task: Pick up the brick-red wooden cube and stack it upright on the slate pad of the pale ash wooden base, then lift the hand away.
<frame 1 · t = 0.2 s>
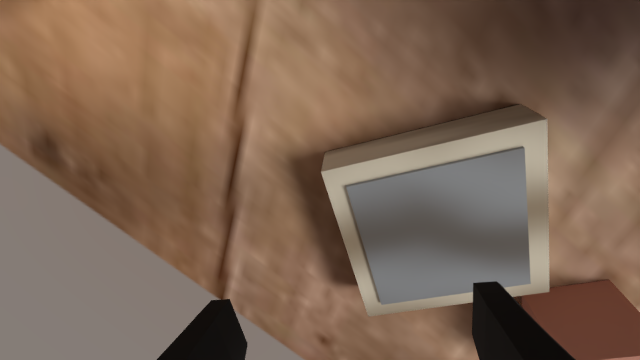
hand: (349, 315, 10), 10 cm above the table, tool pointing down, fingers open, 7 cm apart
block: (563, 312, 22), on the table
base: (432, 209, 20), on the table
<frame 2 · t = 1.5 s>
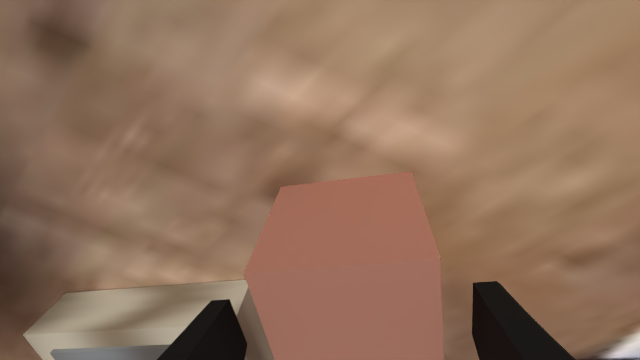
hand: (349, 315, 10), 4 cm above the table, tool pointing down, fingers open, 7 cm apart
block: (353, 232, 14), on the table
base: (189, 355, 19), on the table
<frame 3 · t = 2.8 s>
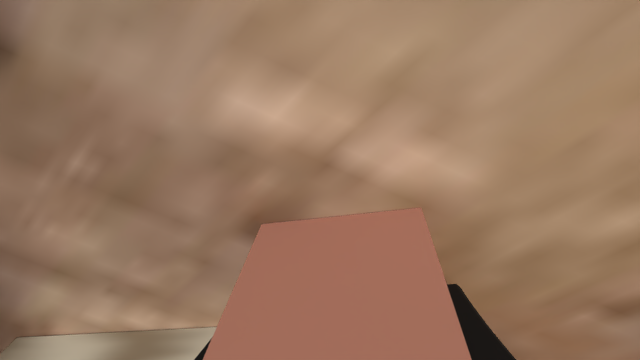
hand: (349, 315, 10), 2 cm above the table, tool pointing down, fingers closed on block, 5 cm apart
block: (349, 277, 12), on the table, touching gripper
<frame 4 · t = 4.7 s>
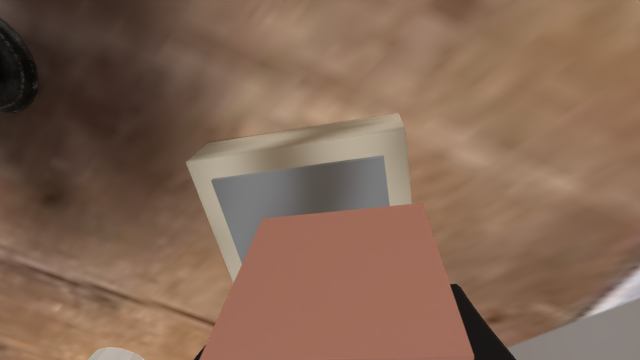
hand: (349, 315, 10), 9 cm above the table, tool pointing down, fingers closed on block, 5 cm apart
block: (350, 272, 12), point 7 cm above the table, touching gripper
base: (317, 212, 19), on the table
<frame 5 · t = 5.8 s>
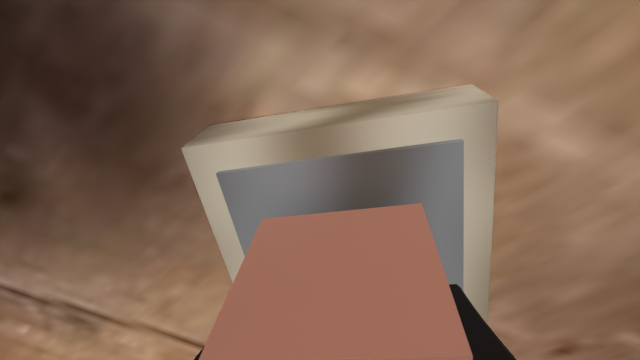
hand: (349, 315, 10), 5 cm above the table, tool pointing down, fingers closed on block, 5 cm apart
block: (349, 273, 12), point 4 cm above the table, touching gripper
base: (350, 217, 15), on the table
when the fingers open (5 cm above the table, at t = 6.5 s): block stays where it is, resting on base.
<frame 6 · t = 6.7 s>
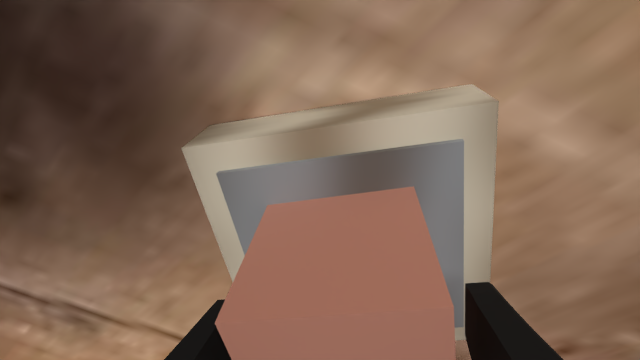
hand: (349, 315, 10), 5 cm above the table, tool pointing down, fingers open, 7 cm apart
block: (349, 254, 12), point 3 cm above the table, touching base
base: (351, 217, 15), on the table
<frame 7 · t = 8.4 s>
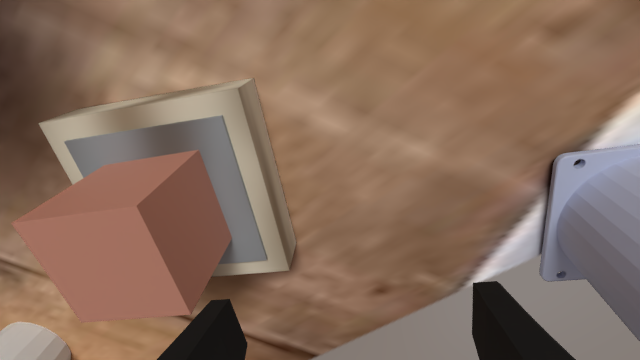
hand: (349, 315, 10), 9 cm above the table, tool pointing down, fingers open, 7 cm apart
shot glass: (39, 343, 28), on the table
block: (170, 202, 17), point 3 cm above the table, touching base
base: (194, 180, 19), on the table
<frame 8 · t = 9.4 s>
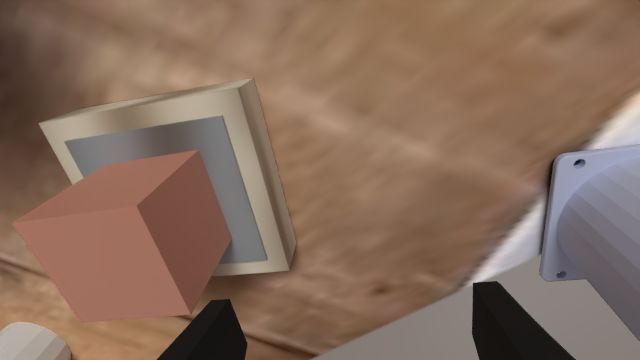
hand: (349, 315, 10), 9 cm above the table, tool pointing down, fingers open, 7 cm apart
shot glass: (39, 343, 28), on the table
block: (170, 202, 17), point 3 cm above the table, touching base
base: (194, 180, 19), on the table
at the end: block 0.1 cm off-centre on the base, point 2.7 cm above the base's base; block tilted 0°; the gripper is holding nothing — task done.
